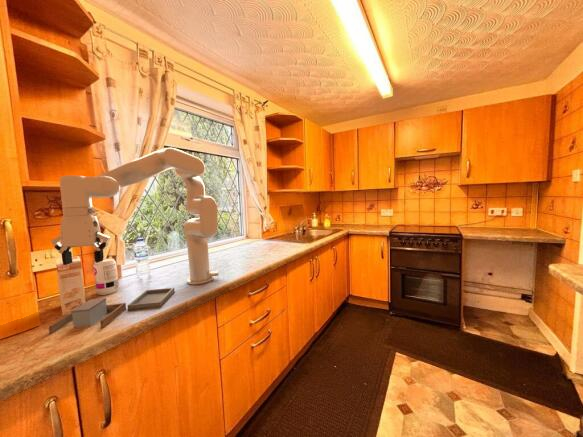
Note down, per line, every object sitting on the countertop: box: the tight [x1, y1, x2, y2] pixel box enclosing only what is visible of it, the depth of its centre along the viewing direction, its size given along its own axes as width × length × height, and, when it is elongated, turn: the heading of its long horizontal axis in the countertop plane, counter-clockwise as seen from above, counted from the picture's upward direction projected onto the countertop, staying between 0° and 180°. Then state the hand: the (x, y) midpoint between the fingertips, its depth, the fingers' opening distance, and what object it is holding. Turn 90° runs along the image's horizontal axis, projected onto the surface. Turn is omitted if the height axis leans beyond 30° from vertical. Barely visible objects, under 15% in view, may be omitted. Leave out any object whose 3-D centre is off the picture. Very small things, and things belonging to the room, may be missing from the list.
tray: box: [126, 287, 175, 312], centre depth 98 cm, size 12×16×2 cm
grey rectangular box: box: [71, 297, 108, 329], centre depth 83 cm, size 5×9×6 cm, turn 9°
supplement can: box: [92, 258, 120, 296], centre depth 110 cm, size 8×8×15 cm
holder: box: [48, 302, 127, 335], centre depth 83 cm, size 16×14×2 cm
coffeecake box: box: [55, 255, 87, 317], centre depth 94 cm, size 15×7×20 cm, turn 45°
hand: (83, 262), depth 81 cm, fingers open, 9 cm apart
